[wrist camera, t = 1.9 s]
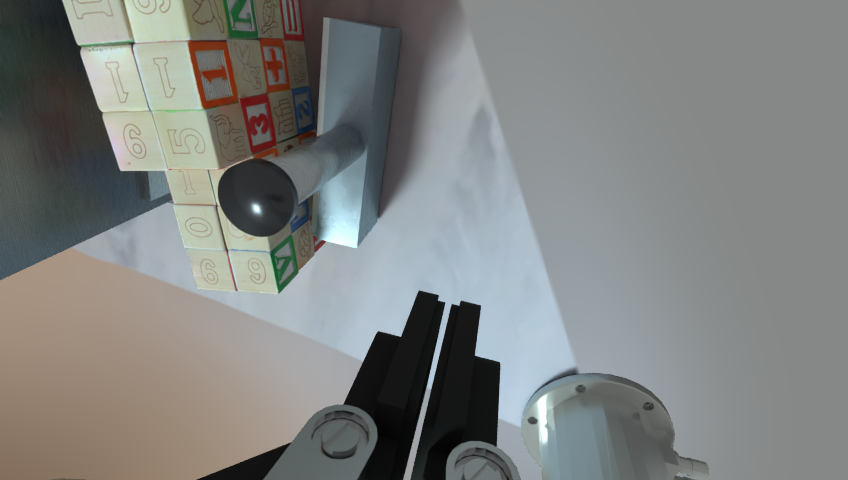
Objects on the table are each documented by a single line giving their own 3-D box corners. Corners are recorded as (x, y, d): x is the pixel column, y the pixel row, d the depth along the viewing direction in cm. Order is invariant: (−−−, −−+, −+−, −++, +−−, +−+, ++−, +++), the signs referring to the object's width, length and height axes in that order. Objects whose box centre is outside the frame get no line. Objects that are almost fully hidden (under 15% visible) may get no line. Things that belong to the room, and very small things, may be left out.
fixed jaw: (186, -44, 30) (-115, -119, 16) (200, 201, 38) (9, 300, 24) (87, -62, 31) (-285, -148, 17) (122, 182, 39) (-110, 267, 24)
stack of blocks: (332, 239, 37) (254, 323, 26) (264, 235, 38) (161, 315, 27) (293, -66, 29) (151, -131, 18) (206, -58, 30) (22, -115, 19)
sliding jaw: (403, 29, 29) (296, 21, 15) (378, 222, 35) (285, 344, 21) (351, 20, 30) (198, 3, 15) (335, 212, 36) (215, 325, 22)
